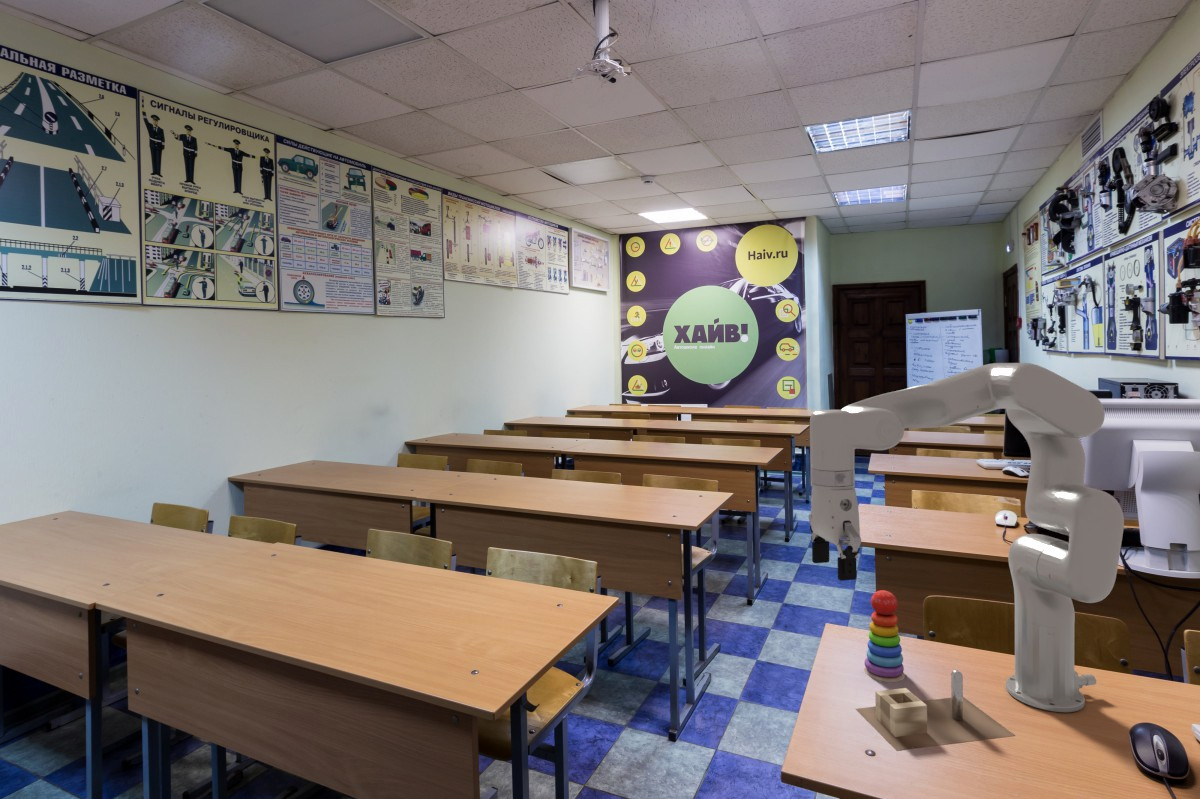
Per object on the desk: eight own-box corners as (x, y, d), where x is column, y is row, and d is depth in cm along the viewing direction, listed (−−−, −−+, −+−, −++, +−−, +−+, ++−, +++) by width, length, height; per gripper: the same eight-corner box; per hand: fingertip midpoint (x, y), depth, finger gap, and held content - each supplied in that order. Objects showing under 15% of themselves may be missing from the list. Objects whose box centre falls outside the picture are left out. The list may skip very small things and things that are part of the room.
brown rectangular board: (962, 703, 121) (962, 696, 121) (1015, 743, 108) (1015, 735, 108) (855, 716, 118) (855, 708, 118) (896, 759, 105) (896, 750, 105)
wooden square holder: (906, 714, 116) (905, 687, 115) (927, 733, 110) (926, 705, 109) (875, 717, 115) (875, 691, 114) (895, 737, 109) (894, 709, 109)
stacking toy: (910, 690, 126) (909, 599, 125) (868, 687, 128) (866, 598, 127) (900, 671, 134) (898, 585, 133) (860, 669, 136) (858, 584, 135)
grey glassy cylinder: (958, 715, 115) (957, 667, 114) (965, 720, 113) (964, 672, 112) (949, 716, 114) (948, 668, 114) (956, 721, 113) (955, 673, 112)
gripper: (878, 485, 105) (879, 585, 106) (829, 469, 123) (830, 555, 123) (836, 488, 105) (837, 588, 105) (792, 471, 122) (793, 557, 123)
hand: (833, 570), depth 114 cm, fingers open, 9 cm apart
